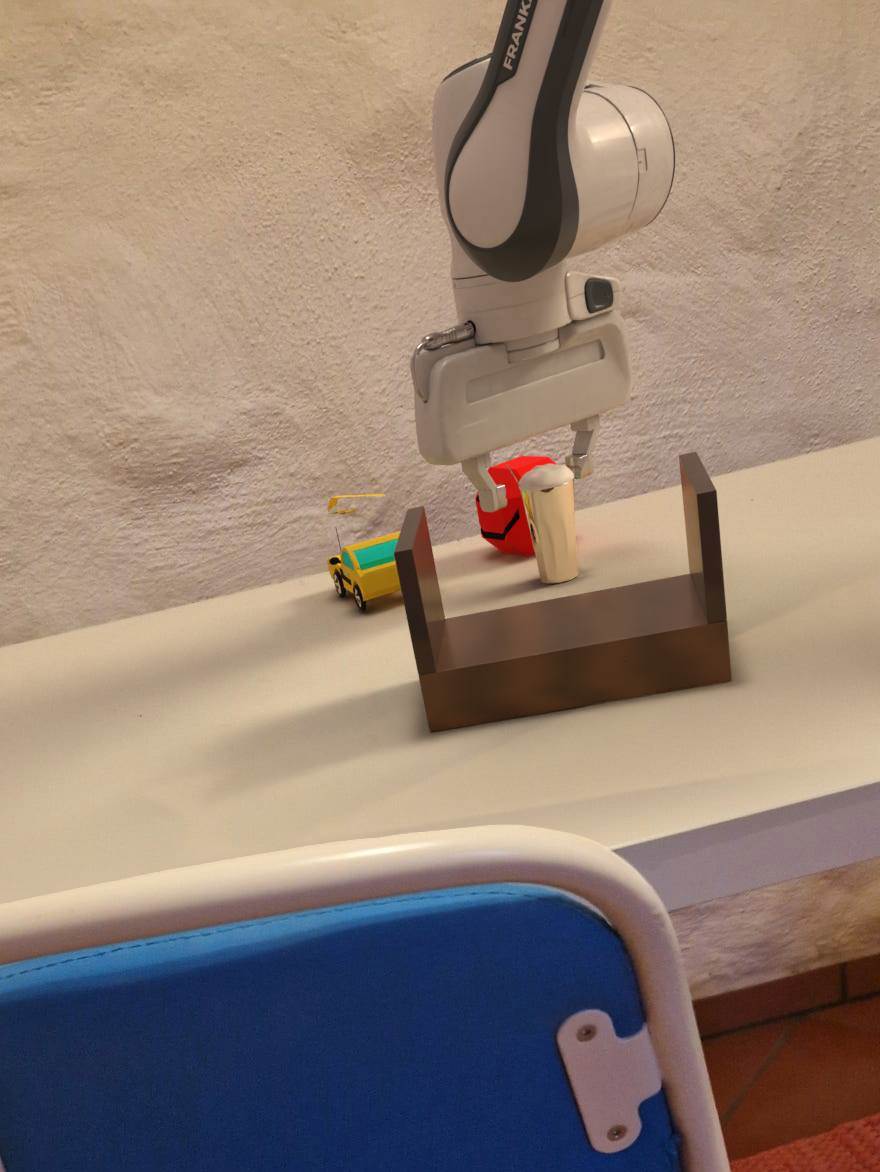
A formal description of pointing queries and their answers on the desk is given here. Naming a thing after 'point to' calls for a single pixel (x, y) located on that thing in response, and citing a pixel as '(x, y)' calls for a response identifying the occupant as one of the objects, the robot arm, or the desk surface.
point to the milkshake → (551, 520)
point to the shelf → (570, 631)
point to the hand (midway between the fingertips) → (538, 493)
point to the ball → (510, 508)
